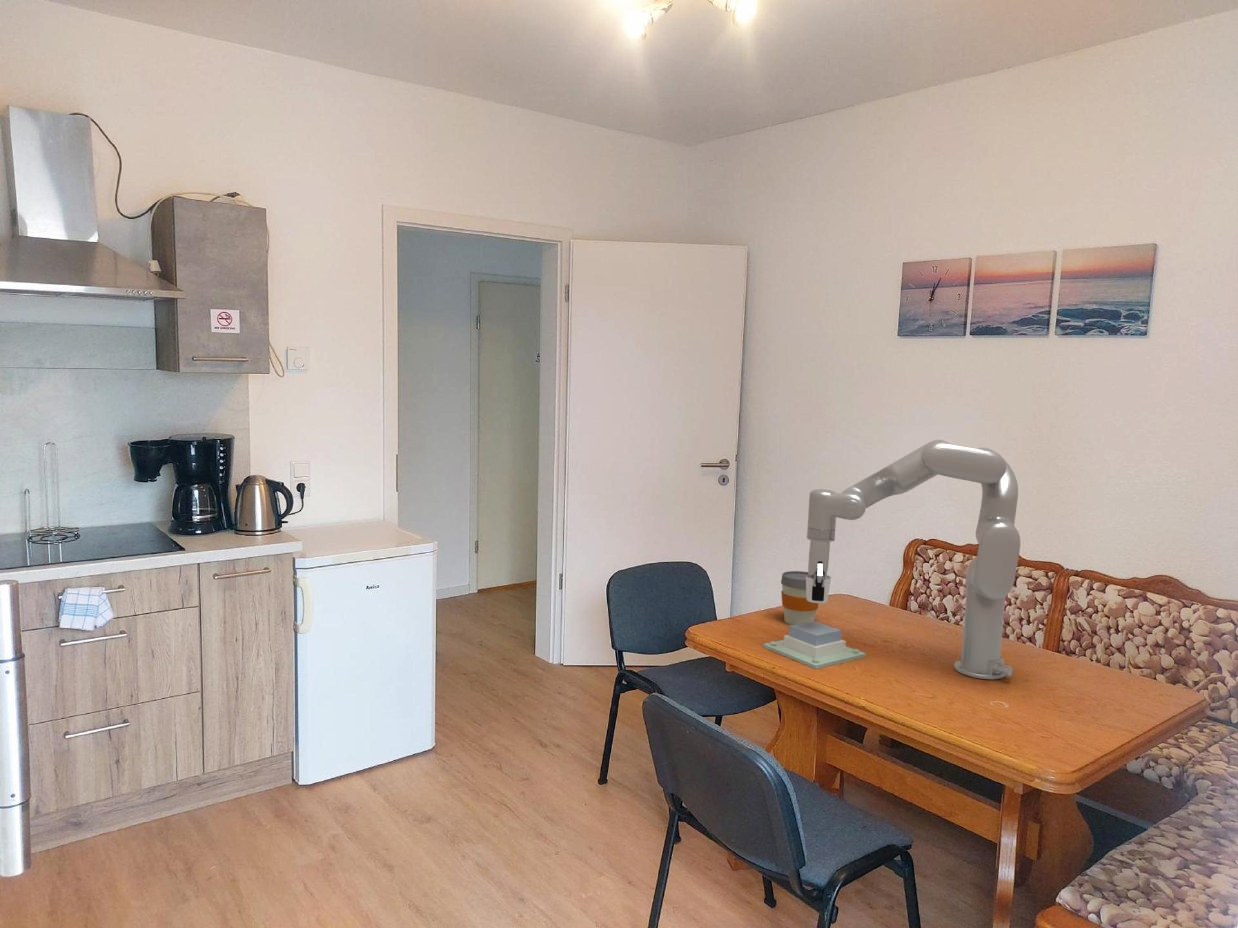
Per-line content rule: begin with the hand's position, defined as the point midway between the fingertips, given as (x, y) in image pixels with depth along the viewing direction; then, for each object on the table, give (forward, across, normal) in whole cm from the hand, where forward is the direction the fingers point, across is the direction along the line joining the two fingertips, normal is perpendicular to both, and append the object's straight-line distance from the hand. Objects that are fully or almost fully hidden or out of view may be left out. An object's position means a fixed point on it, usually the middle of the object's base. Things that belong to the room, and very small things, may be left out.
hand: (817, 596), depth 232 cm
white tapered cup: (+1, 0, 0) cm, 1 cm away
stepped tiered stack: (+16, 0, 0) cm, 16 cm away
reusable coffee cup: (+16, -29, -4) cm, 33 cm away
